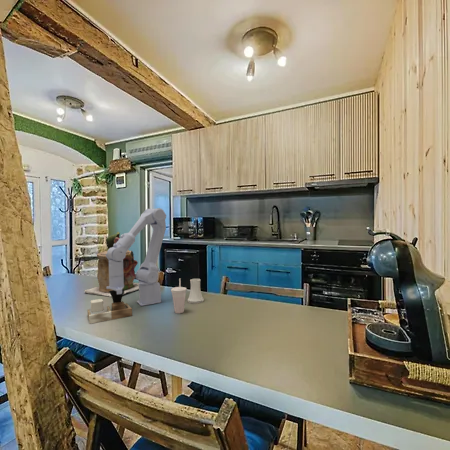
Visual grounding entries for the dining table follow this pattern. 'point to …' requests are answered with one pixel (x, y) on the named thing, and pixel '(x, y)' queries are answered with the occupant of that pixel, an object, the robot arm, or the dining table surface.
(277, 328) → the dining table surface
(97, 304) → the cream block
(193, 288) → the vase
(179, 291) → the smoothie
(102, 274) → the cookie jar
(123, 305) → the walnut block
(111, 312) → the lane rack
